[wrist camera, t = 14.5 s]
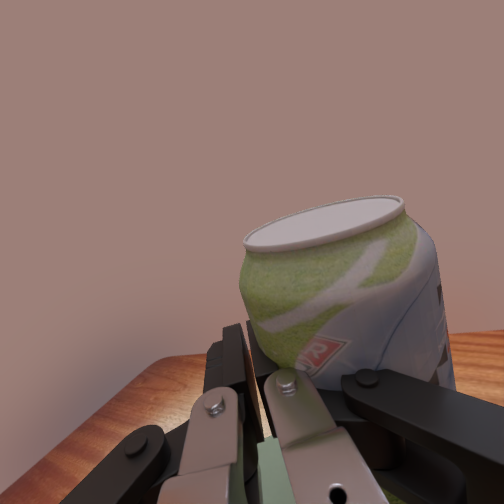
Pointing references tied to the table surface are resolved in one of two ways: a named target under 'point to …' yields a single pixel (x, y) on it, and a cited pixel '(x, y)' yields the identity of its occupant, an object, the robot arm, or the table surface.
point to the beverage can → (348, 294)
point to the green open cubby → (274, 473)
